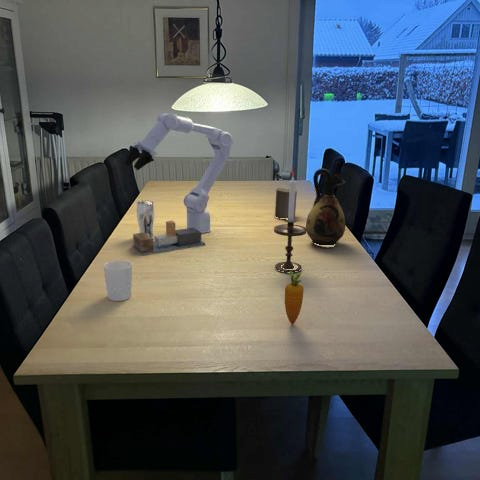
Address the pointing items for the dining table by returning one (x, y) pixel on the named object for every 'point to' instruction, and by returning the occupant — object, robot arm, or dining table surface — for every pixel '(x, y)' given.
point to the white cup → (118, 280)
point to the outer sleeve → (185, 239)
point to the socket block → (143, 242)
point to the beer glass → (145, 217)
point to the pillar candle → (283, 202)
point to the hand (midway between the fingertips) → (130, 166)
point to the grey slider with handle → (167, 235)
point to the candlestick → (290, 230)
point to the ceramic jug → (326, 212)
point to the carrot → (293, 298)
